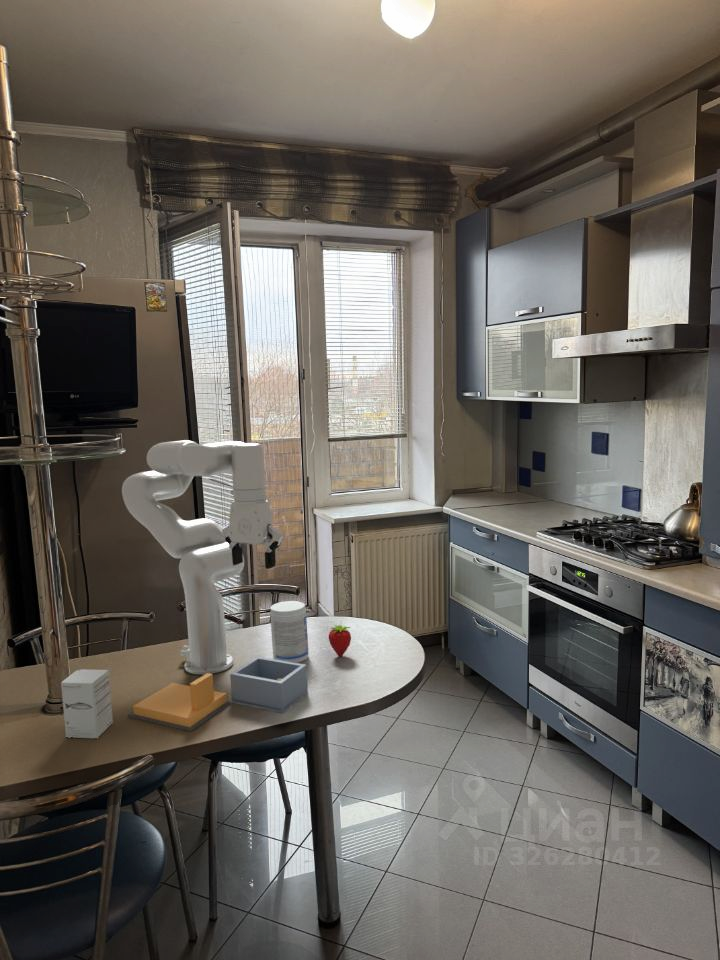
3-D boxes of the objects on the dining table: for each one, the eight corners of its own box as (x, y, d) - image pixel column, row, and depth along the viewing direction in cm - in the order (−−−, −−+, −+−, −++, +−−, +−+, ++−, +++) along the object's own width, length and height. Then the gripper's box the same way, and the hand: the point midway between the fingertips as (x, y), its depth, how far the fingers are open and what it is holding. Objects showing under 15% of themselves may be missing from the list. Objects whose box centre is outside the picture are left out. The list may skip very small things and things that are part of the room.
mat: (127, 716, 153) (127, 714, 153) (170, 691, 166) (170, 688, 166) (190, 731, 145) (190, 728, 145) (230, 703, 158) (230, 701, 158)
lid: (133, 714, 153) (130, 680, 152) (173, 690, 165) (170, 658, 164) (189, 727, 146) (187, 691, 145) (226, 701, 158) (224, 668, 157)
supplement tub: (315, 659, 182) (312, 606, 180) (283, 668, 177) (280, 614, 175) (297, 649, 190) (295, 598, 188) (267, 657, 185) (263, 605, 183)
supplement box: (64, 738, 145) (59, 682, 143) (83, 721, 152) (78, 667, 150) (97, 740, 143) (91, 683, 142) (114, 722, 151) (109, 668, 149)
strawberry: (346, 649, 188) (345, 614, 186) (355, 659, 181) (354, 623, 179) (326, 653, 186) (324, 618, 184) (334, 663, 179) (332, 626, 177)
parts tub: (231, 702, 158) (230, 673, 157) (258, 683, 168) (257, 656, 167) (282, 713, 152) (281, 683, 151) (307, 692, 162) (306, 664, 161)
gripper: (211, 496, 162) (215, 566, 164) (270, 499, 154) (274, 573, 156) (230, 491, 169) (235, 558, 171) (289, 494, 161) (292, 565, 163)
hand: (253, 565), depth 164 cm, fingers open, 9 cm apart
